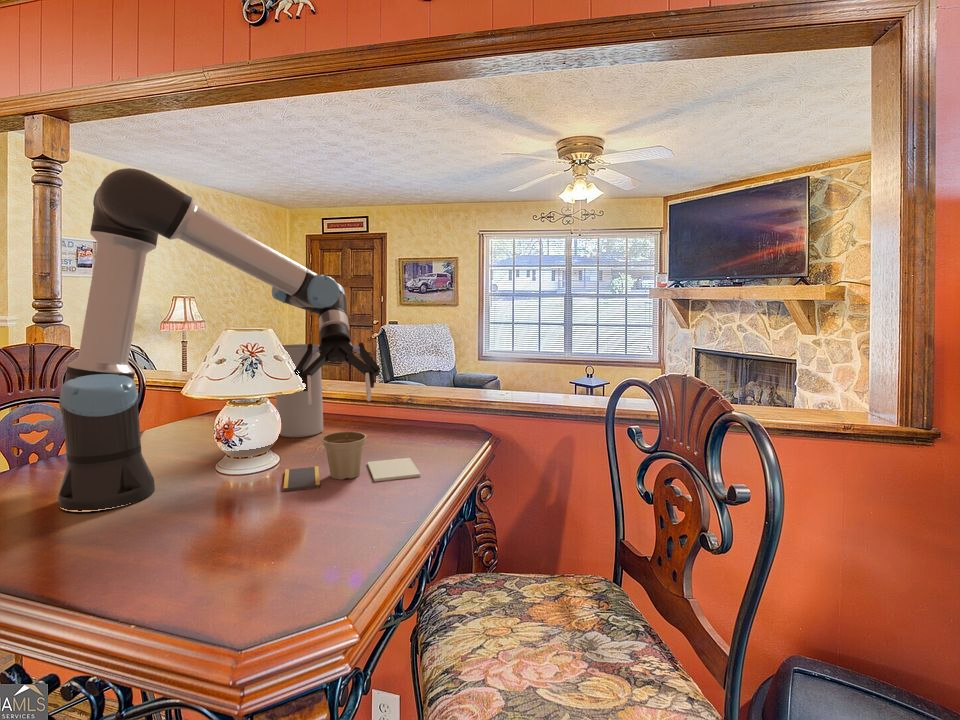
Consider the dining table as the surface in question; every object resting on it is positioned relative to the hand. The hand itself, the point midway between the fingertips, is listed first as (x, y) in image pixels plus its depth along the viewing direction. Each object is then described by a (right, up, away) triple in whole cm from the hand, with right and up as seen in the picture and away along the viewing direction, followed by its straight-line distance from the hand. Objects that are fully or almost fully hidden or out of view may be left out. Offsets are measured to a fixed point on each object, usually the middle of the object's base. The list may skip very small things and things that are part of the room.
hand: (340, 399), depth 122 cm
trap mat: (-5, -16, -11) cm, 20 cm away
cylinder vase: (-19, -12, +27) cm, 35 cm away
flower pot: (+3, -16, -8) cm, 18 cm away
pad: (+13, -16, -5) cm, 21 cm away
